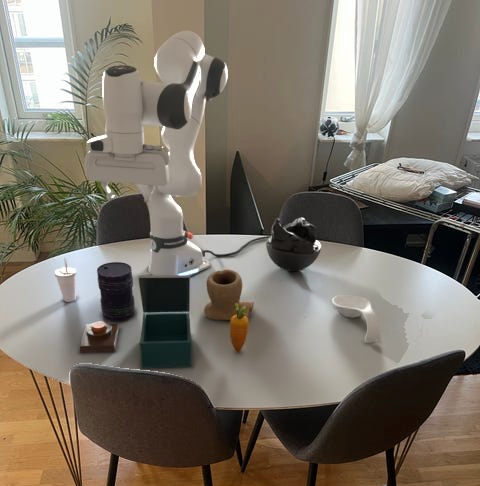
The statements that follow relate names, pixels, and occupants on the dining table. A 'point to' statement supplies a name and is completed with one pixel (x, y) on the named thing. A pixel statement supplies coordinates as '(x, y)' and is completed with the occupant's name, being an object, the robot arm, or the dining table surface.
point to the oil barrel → (116, 291)
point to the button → (98, 327)
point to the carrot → (239, 328)
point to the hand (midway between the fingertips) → (129, 200)
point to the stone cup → (225, 295)
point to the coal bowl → (293, 245)
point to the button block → (99, 339)
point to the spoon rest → (359, 313)
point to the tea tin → (165, 340)
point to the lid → (165, 293)
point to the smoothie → (67, 282)
